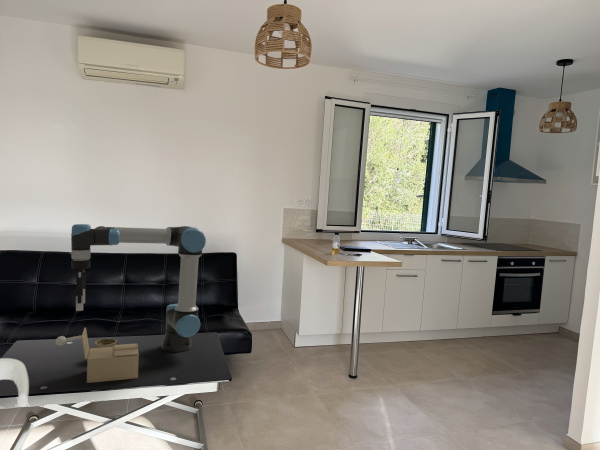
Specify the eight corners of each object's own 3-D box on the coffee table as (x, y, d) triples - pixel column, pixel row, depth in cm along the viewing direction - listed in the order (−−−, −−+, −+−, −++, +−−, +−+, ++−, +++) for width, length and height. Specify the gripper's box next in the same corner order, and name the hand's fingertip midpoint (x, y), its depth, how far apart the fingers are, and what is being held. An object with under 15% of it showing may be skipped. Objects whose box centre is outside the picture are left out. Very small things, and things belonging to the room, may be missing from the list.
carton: (137, 366, 203) (138, 343, 202) (137, 378, 190) (138, 353, 189) (89, 370, 195) (90, 346, 195) (86, 382, 182) (87, 356, 182)
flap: (85, 327, 193) (57, 332, 189) (82, 336, 181) (52, 342, 177) (89, 348, 194) (61, 354, 190) (86, 358, 182) (56, 365, 178)
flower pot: (108, 363, 204) (108, 345, 203) (90, 361, 206) (90, 343, 205) (120, 357, 213) (120, 339, 213) (102, 354, 215) (103, 337, 215)
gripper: (73, 255, 202) (73, 300, 204) (68, 263, 179) (68, 314, 181) (91, 255, 205) (91, 299, 207) (88, 263, 182) (88, 313, 184)
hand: (80, 306), depth 194 cm, fingers open, 13 cm apart
